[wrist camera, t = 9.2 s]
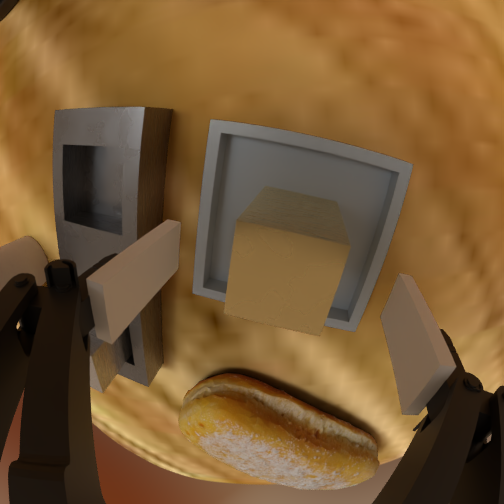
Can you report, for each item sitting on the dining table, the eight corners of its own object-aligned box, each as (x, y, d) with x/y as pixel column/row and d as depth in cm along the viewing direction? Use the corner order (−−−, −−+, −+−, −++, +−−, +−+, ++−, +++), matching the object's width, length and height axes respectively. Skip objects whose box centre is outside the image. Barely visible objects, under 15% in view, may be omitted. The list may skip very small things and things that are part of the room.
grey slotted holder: (86, 108, 20) (55, 110, 17) (172, 109, 19) (144, 106, 16) (100, 337, 31) (82, 356, 28) (163, 362, 30) (148, 386, 27)
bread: (225, 342, 27) (198, 404, 20) (400, 430, 29) (405, 480, 22) (177, 397, 33) (153, 444, 26) (332, 465, 35) (328, 507, 28)
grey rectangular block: (98, 288, 27) (48, 333, 20) (138, 303, 26) (91, 356, 19) (104, 325, 29) (63, 371, 22) (141, 340, 28) (103, 393, 21)
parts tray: (221, 120, 19) (210, 119, 17) (402, 160, 18) (413, 164, 15) (202, 278, 25) (192, 293, 23) (352, 314, 23) (354, 332, 21)
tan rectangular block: (265, 185, 20) (236, 220, 12) (337, 201, 19) (350, 246, 12) (253, 251, 22) (223, 313, 15) (319, 266, 21) (319, 336, 14)
